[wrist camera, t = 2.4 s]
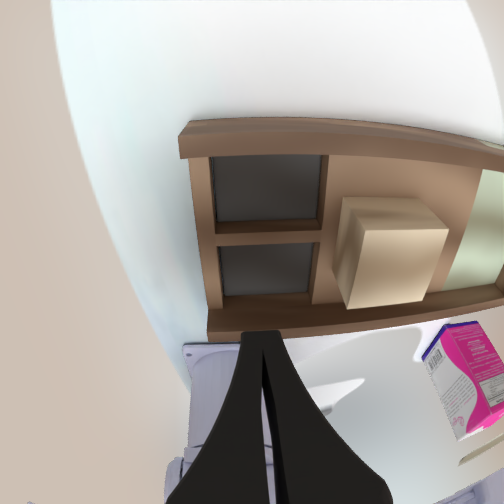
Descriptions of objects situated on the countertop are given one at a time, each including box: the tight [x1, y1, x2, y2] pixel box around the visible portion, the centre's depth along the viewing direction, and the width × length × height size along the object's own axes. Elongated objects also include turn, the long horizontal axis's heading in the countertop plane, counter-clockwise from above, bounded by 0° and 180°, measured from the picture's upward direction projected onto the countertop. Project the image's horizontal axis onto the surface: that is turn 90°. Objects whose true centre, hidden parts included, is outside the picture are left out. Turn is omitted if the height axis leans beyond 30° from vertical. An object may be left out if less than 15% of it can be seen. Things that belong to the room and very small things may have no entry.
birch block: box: [332, 197, 449, 309], centre depth 16 cm, size 5×5×4 cm
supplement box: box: [422, 321, 504, 442], centre depth 23 cm, size 6×6×12 cm
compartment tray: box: [178, 117, 504, 342], centre depth 17 cm, size 13×26×4 cm, turn 91°
